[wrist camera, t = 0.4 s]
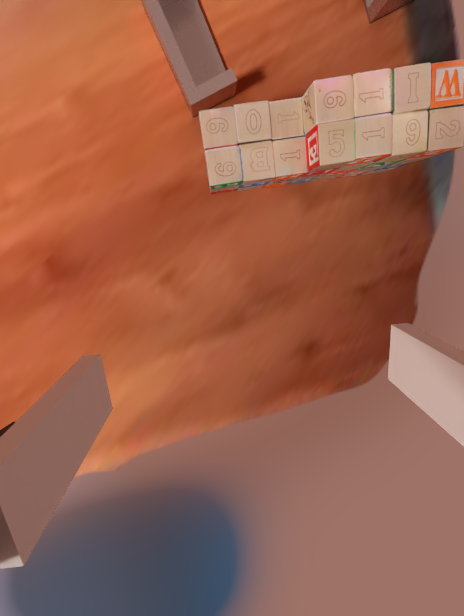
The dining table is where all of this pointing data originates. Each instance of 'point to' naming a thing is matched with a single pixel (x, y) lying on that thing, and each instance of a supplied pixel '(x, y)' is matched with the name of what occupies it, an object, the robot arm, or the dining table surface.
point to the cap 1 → (382, 7)
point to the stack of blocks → (337, 128)
